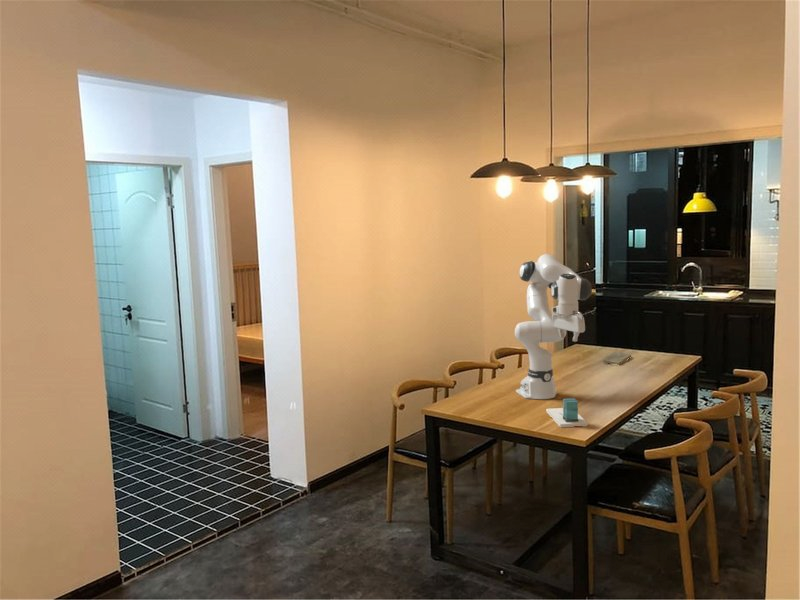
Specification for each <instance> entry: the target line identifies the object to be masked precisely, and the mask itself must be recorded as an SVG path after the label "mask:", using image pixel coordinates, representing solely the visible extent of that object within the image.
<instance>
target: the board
mask: <svg viewBox="0 0 800 600" xmlns="http://www.w3.org/2000/svg"><path fill="white" fill-rule="evenodd" d="M546 413H547V414H548V415H549V417H552V418H553V419H552V418H551V419H552V420H553V421H554V422H555V423H556V424H557V425H558V427H559V426H560V428H575V427H574V426H583V427H588V426H589V424H588V421H586V419H585V418H584V417H582V416H581V415H580V414H579V413H578V422H566V421H565V420H564V419H563V407H557V408H555V407H554V408H553V407H552V408H546ZM587 425H588V426H587Z"/></svg>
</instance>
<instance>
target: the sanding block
mask: <svg viewBox="0 0 800 600" xmlns="http://www.w3.org/2000/svg"><path fill="white" fill-rule="evenodd" d="M578 403H579V402H578V400H577V399H576V398H563V399H562V408H563V419H564V420H565V421H566V422H578V414H579V404H578Z"/></svg>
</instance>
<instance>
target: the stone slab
mask: <svg viewBox="0 0 800 600" xmlns="http://www.w3.org/2000/svg"><path fill="white" fill-rule="evenodd" d="M630 357H631V358H632V355H631V354H629V353H625V352H620V351H614V352H611V353H610V354H608V355H607V356H606V357H605V358H604V359H602V362H603V363H604V364H605V363H610V364H609V365H611V364H617V365H616V366H618V365H619V366H621V365H622V364H624V363H625V362H627V361H628V360H627V359H628V358H630ZM631 358H630V359H631ZM626 360H627V361H626ZM624 361H625V362H624ZM623 362H624V363H623ZM621 363H622V364H621ZM620 364H621V365H620Z"/></svg>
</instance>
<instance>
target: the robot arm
mask: <svg viewBox="0 0 800 600" xmlns="http://www.w3.org/2000/svg"><path fill="white" fill-rule="evenodd" d="M519 278H520V280H522V281H523V282H526V283H528V282H529V283H530V284H529V285H528V286H527V290H526V310H527V314H528V316H529V317H530V319H532V320H530V321H529V320H526V321H522V322H518V323H517V324H516V326H515V328H514V336H515V339H516V340H517V341H518V342H519V343H521V344H522V345H523V346H524V348H526V349H525V350H526V351H527V353H528V359H529V361H528V362H529V368H528V369H527V376H525V377H524V378H523V379H522V380H520V387H519V388H517V389H515V392H516V393H517V394H518V395H520V396H521V397H523V398H524V399H534V400H550V399H553V398H555V397H556V395H558V392H557V391H556V384H555V379H554V377H553V376H554V374H553V373H554V372H553V371H554V370H553V366H552V363H553V361H552V354H551V352H550V351H548V349H545V348H543V347H541V346H540V343H557V342H561V341H563V340H564V339H565V337H566V336H567V331H569V332H572V333H573V337H572V340H571V341H572V342H575V343H576V342H578V341H579V340H578V337H579V336H580V333H581V334H582V333H584V332H585V331H586V324H585V322H586V321H585V317H584V315H583V314H582V312H581V311H579V301H586V300H587V299H589V298H590V296H592V292H593V289H592V284H591V282H590V281H589V280H588V279H587V278H583V276H581V275H580V274H579V273H577V272H576V270H574V269H572V268H570V267H568V266H566V265H564V264H562V263H561V262H560V261H559V260H558V259H557V258H556V257H555V256H554V255H552V254H550V253H544V254H542V255H540V256H539V257H538V259H537V261H533V260H531V261H526V262H525V261H524V263H522V264H521V266H520V268H519ZM548 288H549V289H550V296H551V298H552V299H554V300H555V301H558V302H557V304H558V305H556V306H554V307H551V309H550V305H549V299H548V297H549V296H548V293H547V291H548ZM578 300H579V301H578ZM551 312H552V313H551ZM533 320H534V321H533Z"/></svg>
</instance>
